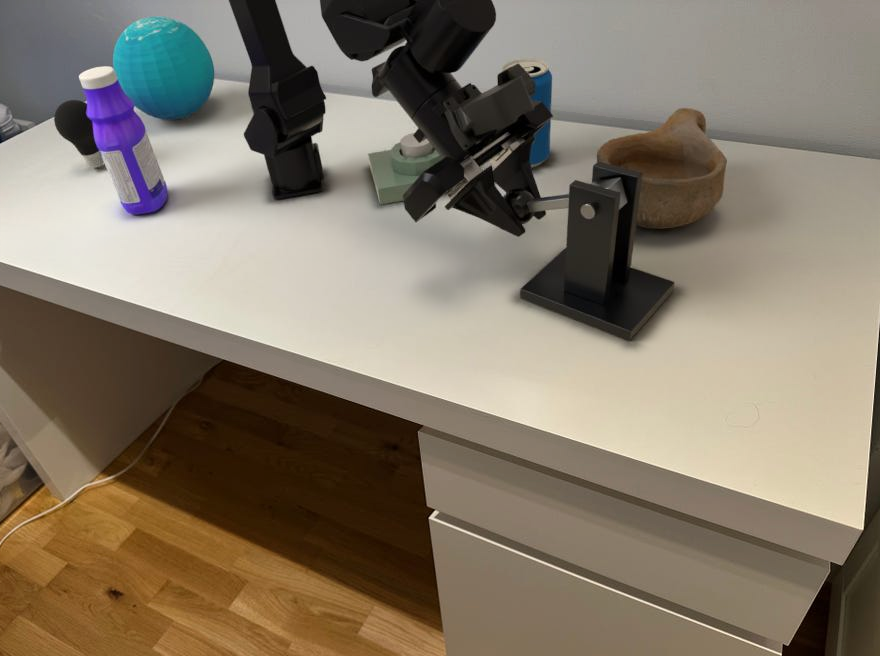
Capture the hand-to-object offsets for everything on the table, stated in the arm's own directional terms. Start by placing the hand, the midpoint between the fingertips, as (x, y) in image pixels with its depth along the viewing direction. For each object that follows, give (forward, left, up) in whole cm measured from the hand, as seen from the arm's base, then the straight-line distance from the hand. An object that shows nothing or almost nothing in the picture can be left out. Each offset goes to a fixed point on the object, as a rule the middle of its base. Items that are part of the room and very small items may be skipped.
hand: (532, 225), depth 70 cm
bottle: (-44, +30, -6) cm, 53 cm away
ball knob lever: (+2, -3, +2) cm, 4 cm away
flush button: (-8, +24, -2) cm, 26 cm away
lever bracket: (+5, -6, -6) cm, 9 cm away
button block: (-8, +24, -6) cm, 26 cm away
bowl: (+17, +8, -6) cm, 20 cm away
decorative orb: (-42, +59, -6) cm, 73 cm away
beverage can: (+6, +24, -6) cm, 26 cm away
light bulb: (-53, +44, -6) cm, 69 cm away
